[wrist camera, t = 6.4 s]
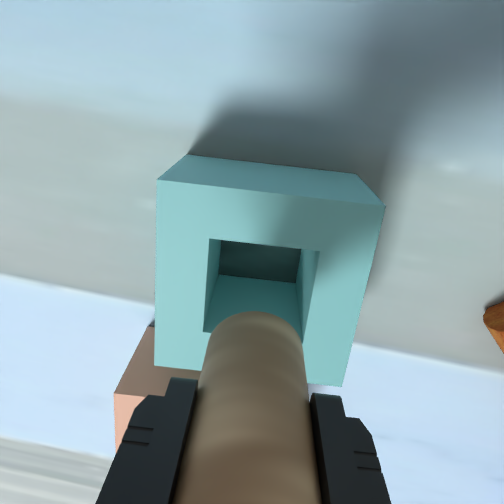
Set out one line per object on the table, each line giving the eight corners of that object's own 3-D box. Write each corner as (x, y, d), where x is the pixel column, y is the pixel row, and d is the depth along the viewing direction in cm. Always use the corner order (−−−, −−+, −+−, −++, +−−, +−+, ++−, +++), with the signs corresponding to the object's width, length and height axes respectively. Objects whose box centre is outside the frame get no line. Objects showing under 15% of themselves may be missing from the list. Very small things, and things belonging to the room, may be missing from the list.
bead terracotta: (288, 342, 26) (293, 413, 20) (271, 445, 29) (271, 531, 24) (147, 326, 26) (113, 393, 20) (147, 431, 29) (118, 513, 23)
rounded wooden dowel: (311, 315, 13) (420, 908, 4) (296, 395, 14) (347, 982, 5) (208, 304, 13) (57, 870, 4) (202, 385, 14) (79, 954, 5)
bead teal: (356, 173, 21) (385, 205, 16) (325, 319, 25) (341, 387, 19) (186, 154, 21) (156, 179, 16) (180, 302, 25) (154, 365, 19)
